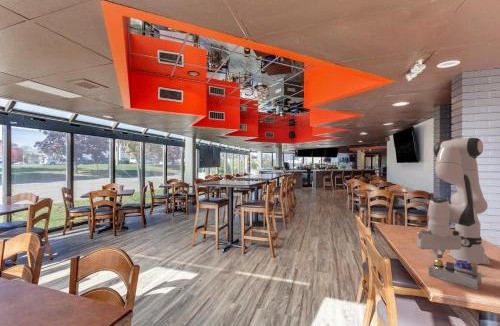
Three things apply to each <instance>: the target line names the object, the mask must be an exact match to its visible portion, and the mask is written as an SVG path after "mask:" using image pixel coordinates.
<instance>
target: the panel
mask: <svg viewBox="0 0 500 326" xmlns="http://www.w3.org/2000/svg"><path fill="white" fill-rule="evenodd" d="M428 276H430V277H433V278H435V279H439V280H442V281H446V282H449V283H453V284H456V285H458V286H463V287H466V288H469V289H473V290H475V291H478V289H479V288H480V286H481V284H482V273H481V272H478V275H477V276H472V271H470V270H466V269H462V268H458V267H454V271H451V270H448V269H446V263H443V268H440V267H436V266H435V261H433V262H432V263H431V264H429V266H428Z"/></svg>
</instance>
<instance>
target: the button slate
mask: <svg viewBox="0 0 500 326" xmlns="http://www.w3.org/2000/svg"><path fill="white" fill-rule="evenodd" d="M445 264H446V269H448V270H451V271H454V266H455V263H454V262H452V261H446V262H445Z"/></svg>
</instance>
